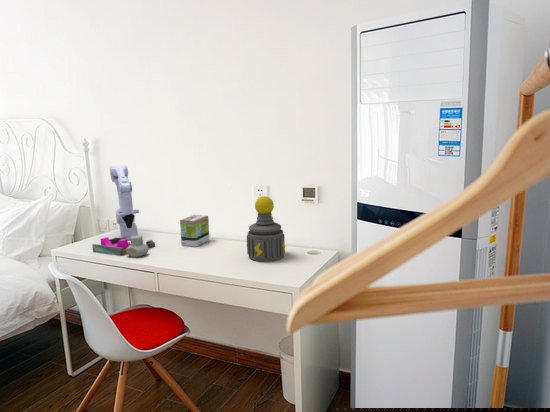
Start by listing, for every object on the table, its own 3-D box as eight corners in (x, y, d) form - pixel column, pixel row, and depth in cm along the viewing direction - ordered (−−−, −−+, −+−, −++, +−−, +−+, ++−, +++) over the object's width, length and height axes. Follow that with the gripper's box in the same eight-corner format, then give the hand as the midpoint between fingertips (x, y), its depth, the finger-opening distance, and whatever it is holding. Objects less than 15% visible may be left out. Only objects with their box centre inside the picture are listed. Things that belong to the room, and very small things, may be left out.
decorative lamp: (277, 263, 199) (275, 200, 193) (240, 260, 205) (237, 199, 200) (290, 252, 216) (288, 193, 210) (256, 249, 222) (253, 192, 217)
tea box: (197, 247, 231) (195, 220, 228) (181, 246, 234) (179, 219, 231) (210, 240, 245) (208, 214, 242) (194, 239, 248) (192, 214, 245)
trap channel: (120, 240, 251) (119, 233, 250) (158, 245, 238) (158, 238, 237) (87, 250, 231) (87, 243, 230) (127, 256, 218) (127, 249, 217)
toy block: (132, 251, 228) (130, 237, 227) (124, 254, 222) (122, 240, 221) (110, 249, 234) (109, 236, 232) (101, 252, 228) (100, 238, 227)
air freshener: (124, 257, 218) (122, 238, 216) (134, 252, 225) (133, 234, 224) (141, 258, 214) (139, 239, 212) (151, 254, 221) (150, 235, 220)
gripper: (122, 207, 229) (124, 231, 232) (141, 202, 242) (144, 225, 245) (112, 206, 233) (115, 230, 235) (132, 201, 245) (134, 224, 248)
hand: (129, 228), depth 240 cm, fingers closed
